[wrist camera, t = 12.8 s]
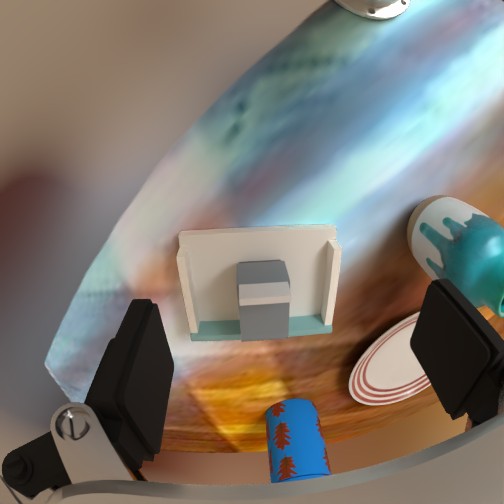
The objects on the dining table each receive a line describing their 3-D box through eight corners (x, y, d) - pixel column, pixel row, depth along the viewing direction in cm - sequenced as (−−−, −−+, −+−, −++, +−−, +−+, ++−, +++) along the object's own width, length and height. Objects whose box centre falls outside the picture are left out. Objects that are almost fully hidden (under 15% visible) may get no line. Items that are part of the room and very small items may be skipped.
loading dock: (180, 230, 36) (173, 246, 32) (333, 223, 36) (344, 238, 32) (194, 320, 42) (191, 341, 38) (324, 312, 42) (331, 332, 38)
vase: (382, 218, 36) (471, 302, 19) (436, 171, 33) (541, 225, 16) (412, 268, 40) (484, 353, 23) (460, 225, 37) (543, 292, 20)
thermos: (322, 413, 56) (345, 514, 33) (278, 429, 58) (289, 527, 35) (305, 391, 51) (328, 510, 29) (255, 409, 53) (263, 522, 31)
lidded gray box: (236, 255, 36) (236, 299, 28) (281, 252, 36) (294, 295, 28) (240, 308, 39) (242, 356, 31) (281, 305, 40) (291, 353, 32)
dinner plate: (475, 334, 49) (483, 343, 46) (384, 406, 58) (388, 417, 55) (437, 265, 40) (448, 276, 37) (315, 369, 49) (319, 383, 46)
